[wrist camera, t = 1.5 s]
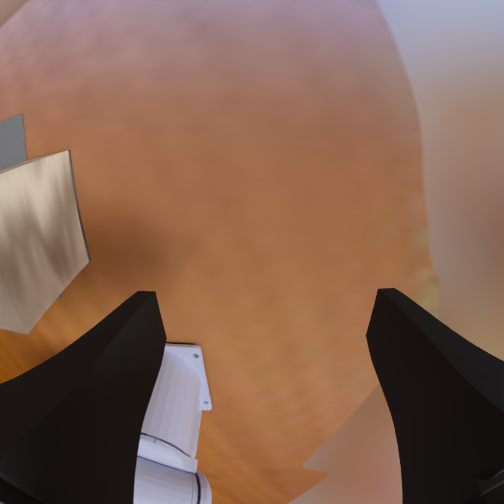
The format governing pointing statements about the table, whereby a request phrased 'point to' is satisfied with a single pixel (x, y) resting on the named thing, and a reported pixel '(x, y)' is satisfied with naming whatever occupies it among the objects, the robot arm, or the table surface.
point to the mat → (12, 143)
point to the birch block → (38, 238)
